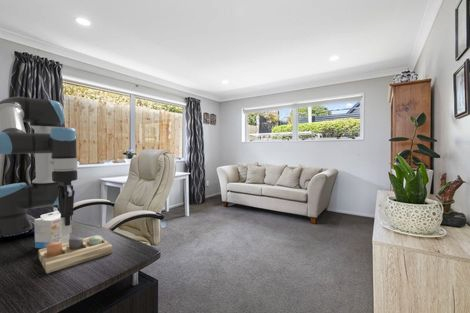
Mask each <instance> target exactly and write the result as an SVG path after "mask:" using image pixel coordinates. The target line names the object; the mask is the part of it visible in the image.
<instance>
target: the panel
mask: <svg viewBox="0 0 470 313" xmlns="http://www.w3.org/2000/svg"><path fill="white" fill-rule="evenodd" d="M93 236H100V234H96V235H92V236H91V235H90V236H88V237H83V247H81V248H78V249H73V250H71V249H69V242H67V243H64V244H62V252H61V253H59V254H57V255H52V256H48V255H47V248H39V249H38V260H39V262H40V263H41V265H42V268H43V269H44V271H45V273H46V274H50V273H53V272H57V271H59V270H63V269H66V268H69V267H72V266H75V265H79V264H81V263H82V264H83V263H85V262H88V261H91V260H96V259H98V258H100V257H105V256H107V255H112V254H113V245H112V244H111V243H110V242H109V241H108V240H106V239H105V238H104V237H102V243H101V244H98V245H94V246H91V247H90V246H89V238H91V237H93Z"/></svg>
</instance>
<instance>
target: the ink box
mask: <svg viewBox="0 0 470 313" xmlns="http://www.w3.org/2000/svg"><path fill="white" fill-rule="evenodd" d="M60 216H61V213H59V210H55V211H52V212H47V213H44V214H41V215H40V218H35V219H34V223H33V225H34V248H35V249H44V248H47V244H49V243H52V242H58V241H60V242H62V244H64V243H68V242H69V239H70V238H71V236H70V234H71V233H70V234H65V235H62V225H61V218H60Z"/></svg>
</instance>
